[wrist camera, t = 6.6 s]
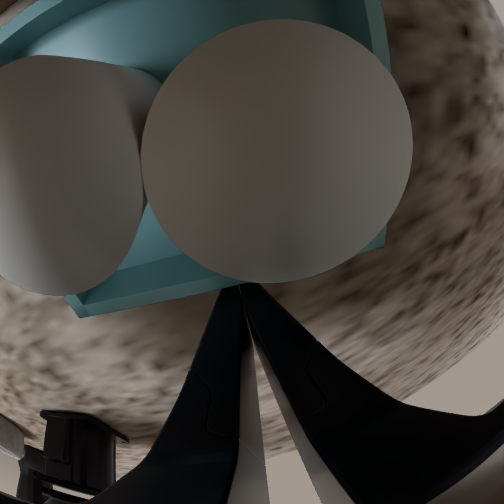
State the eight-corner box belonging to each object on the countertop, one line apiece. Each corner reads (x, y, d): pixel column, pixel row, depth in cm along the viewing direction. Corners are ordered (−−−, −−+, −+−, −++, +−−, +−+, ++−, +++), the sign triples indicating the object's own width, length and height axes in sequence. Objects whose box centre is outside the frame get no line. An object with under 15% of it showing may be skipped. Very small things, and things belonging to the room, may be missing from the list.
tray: (350, 211, 10) (383, 246, 8) (96, 272, 9) (79, 318, 7) (326, -29, 4) (365, -52, 2) (17, 52, 4) (-28, 54, 2)
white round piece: (279, 184, 8) (349, 292, 4) (165, 162, 7) (129, 265, 3) (316, 80, 6) (441, 99, 2) (195, 45, 5) (187, -15, 1)
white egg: (198, 146, 7) (197, 232, 3) (102, 203, 7) (39, 320, 3) (143, 44, 5) (63, -2, 1) (47, 116, 5) (-68, 173, 1)
